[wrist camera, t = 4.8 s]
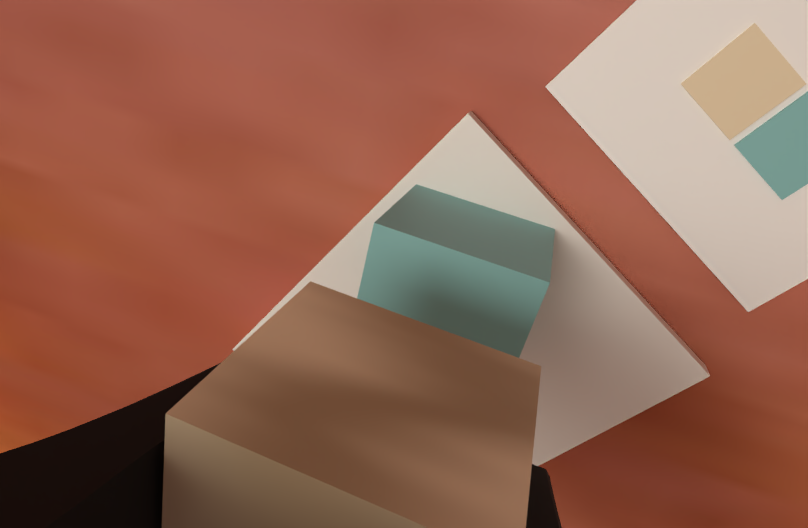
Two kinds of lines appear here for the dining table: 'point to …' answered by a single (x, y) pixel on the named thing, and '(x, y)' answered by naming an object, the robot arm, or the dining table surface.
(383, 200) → the plate
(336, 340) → the maple block
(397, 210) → the teal block
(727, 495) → the dining table surface
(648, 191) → the tile
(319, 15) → the dining table surface
